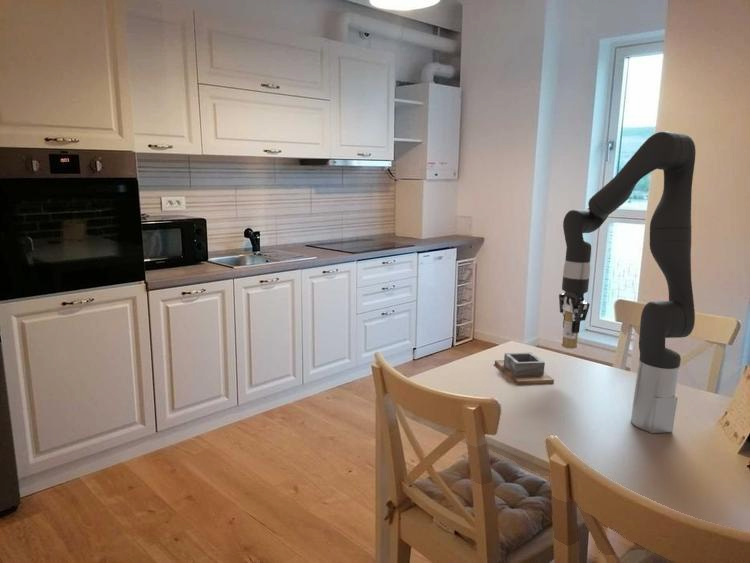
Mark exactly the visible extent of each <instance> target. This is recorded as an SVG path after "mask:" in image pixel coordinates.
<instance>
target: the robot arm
mask: <svg viewBox="0 0 750 563" xmlns="http://www.w3.org/2000/svg"><path fill="white" fill-rule="evenodd" d="M696 153H697V152H696V144H695V142H694V140H693V139H692V137H691V136H689V135H687V134H685V133H679V132H673V131H668V130H667V131H666V130H662V131H657V132H655V133H653V134H652V135H650V136H649V137H648V138H647V139H646V140H645V141H644V142H643V143H642V144H641V146H640V147H639V148H638V149H637V151H636V152H635V153H634V154H633V155H632V156H631V158H629V159H628V161H627V162H626V164H625V165H623V167H622V168H621V169H620V170H619V172H618V173H616V174H615V176H614V177H613V178H612V179H611V180H610V181H608V182H607V184H605V185H604V186H603V187H601V189H599V190H598V191H597V192H596V193H595V194H594V195H593V196H592V197H591V198H590V199H589V200H588V204H587V205H588V208H586V209H580V208H578V209H577V208H576V209H571V210H569V211H568V212H567V213H566V214H565V216H564V218H563V221H562V222H563V223H562V228H563V235H564V239H565V246H566V251H565V260H564V265H563V272H562V281H561V290H562V291H563V292H564V293H559V295H558V300H559V302H558V303H559V312H560V313H561V314H562V317H563V322H562V329H563V328H564V320H565V305H566V304H569V305H570V307H571V308H570V311H571V313H572V319H573V321H572V329H571V332H572V333H578V334H579V333H580V327H581V322H582V321H586V319H587V315H588V312H589V309H590V302H586V301H585V294H586V293H588V292H589V285H590V274H591V259H592V258H591V257H592V245H591V243H589V241H585V240H584V235H583V234H590V233H593V232H595V231H597V230H598V229H600V227H601V226H602V225H603V224H604V222H606V220H607V219H608V217H609V215H611V214H612V213H613V212H615V211H616V210H618V208H620V207H621V206H623V204H625V203H626V202H627V200H629V198H630V197H631V195H632V193H633V191H634V189H635V187H636V186H637V184H638V183H639V181H641V179H643V178H644V177H645V176H646V175H648V174H650V173H652V172H654V171H656V170H662V171H663V189H662V190H663V191H662V195H661V197H660V200H659V202H658V204H657V206H656V208H655V210H654V212H653V214H652V216H651V220H650V224H649V249H650V253H651V255H652V257H653V259H654V261H655V262H656V264H657V265H658V267H659V269H660V270H661V272H662V274H663V275H664V277H665V280H666V283H667V289H668V290H667V291H668V300H666V301H665V300H653V301H649V302H647V303H646V304H645V305H644V307H643V308H642V311H641V316H640V322H639V323H640V324H639V336H638V337H639V338H638V351H639V358H638V366H637V374H636V379H635V387H634V395H633V401H632V402H633V403H632V409H631V410H632V411H631V418H630V422H631V424H632V425H633V426H635V427H636V428H638V429H640V430H644V431H646V432H648V433H650V434H659V433H660V434H661V433H662V434H663V433H672V432H673V430H674V423H675V417H676V411H677V405H678V397H677V396H676V392H677V391H676V390H677V386H678V385H677V384H678V378H679V373H680V372H679V371H680V367H681V360H682V359H681V358H682V357H681V355H680V354H679V352H677V351H675V350H673V349H672V348H671V349H670V348H668V347H666V339H674V338H675V339H676V338H687V337H688V336H690V335H691V333H692V332H693V330H694V327H695V323H696V322H695V320H696V319H695V318H696V312H695V301H694V292H693V285H692V284H693V282H692V257H691V256H692V191H693V188H692V187H693V179H694V171H695V164H696ZM574 309H578V311H575V310H574ZM576 313H577V316H576Z"/></svg>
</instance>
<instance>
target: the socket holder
mask: <svg viewBox="0 0 750 563" xmlns="http://www.w3.org/2000/svg"><path fill="white" fill-rule="evenodd" d="M545 364H546V363H545V361H544V360H542V359H541V358H539V357H538V356H537V355H535V354H534V353H533V352H507V353H504V358H503V360H502V359H499V360H498V359H497V360H494V365H495V366H496V367H498V368H499V370H501V371H502V372H503V373H504V374H505V375H506V376H507V377H508V378H509V379H510V380H511V381H512V382H514V384H516V385H517V386H518V385H519V386H521V385H543V383H549V384H554V383H555V379H554V378H553V377H551V375H549V374H548V373H547V372H545V367H546V366H545Z"/></svg>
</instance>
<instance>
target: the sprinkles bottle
mask: <svg viewBox="0 0 750 563" xmlns="http://www.w3.org/2000/svg"><path fill="white" fill-rule="evenodd" d="M570 308H571V307H570V305H569V304H566V305H565V320H564V319H563V320H564V328H563V327H562V330H563V331H562V342H561V347H562V348H564V349H570V350H573V349H574V350H575V349H577V347H578V338H579V333H572V332H571V329H572V321H573V319H572V313H571V311H570ZM574 310H575V311H578V309H574ZM576 316H577V313H576Z"/></svg>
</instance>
